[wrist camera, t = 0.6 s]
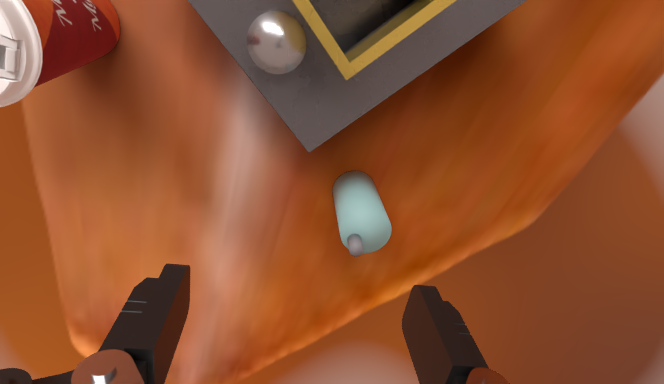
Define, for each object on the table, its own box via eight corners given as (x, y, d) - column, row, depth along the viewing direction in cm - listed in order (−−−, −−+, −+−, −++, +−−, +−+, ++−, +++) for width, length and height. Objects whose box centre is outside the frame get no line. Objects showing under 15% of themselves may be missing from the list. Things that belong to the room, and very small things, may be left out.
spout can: (359, 162, 38) (377, 209, 30) (382, 193, 40) (405, 246, 31) (324, 186, 39) (331, 239, 30) (347, 215, 41) (361, 273, 32)
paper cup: (142, -9, 30) (32, -14, 18) (125, 84, 33) (21, 135, 21) (32, -55, 28) (-178, -97, 16) (25, 47, 31) (-157, 80, 19)
